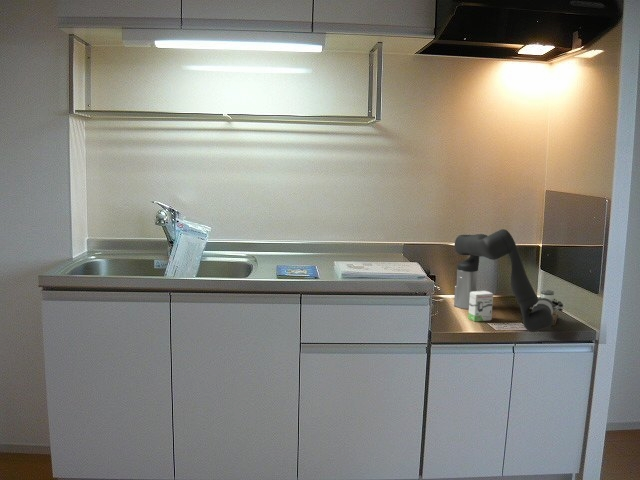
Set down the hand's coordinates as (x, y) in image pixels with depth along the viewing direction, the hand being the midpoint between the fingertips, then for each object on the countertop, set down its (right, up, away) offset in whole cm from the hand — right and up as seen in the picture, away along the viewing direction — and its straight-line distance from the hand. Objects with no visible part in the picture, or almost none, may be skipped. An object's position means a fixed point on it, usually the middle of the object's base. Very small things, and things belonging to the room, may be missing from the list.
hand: (547, 300), depth 229 cm
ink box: (-29, -8, 0) cm, 30 cm away
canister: (-1, -7, -1) cm, 7 cm away
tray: (-1, -8, 0) cm, 8 cm away
